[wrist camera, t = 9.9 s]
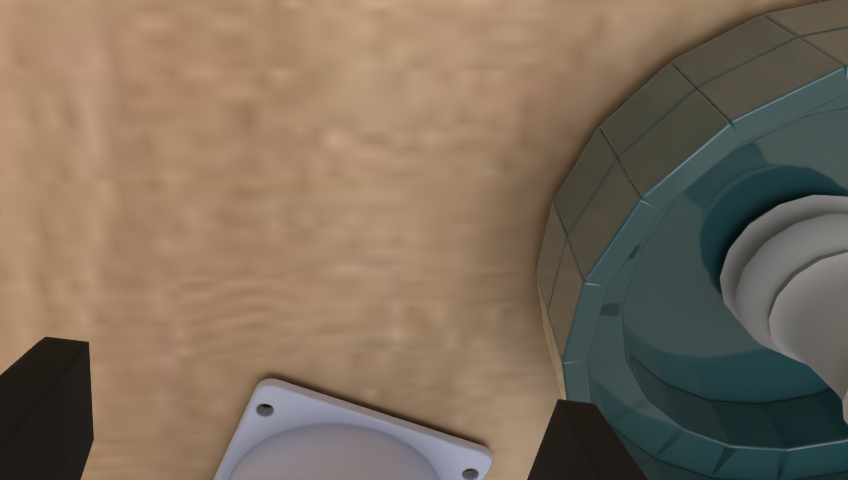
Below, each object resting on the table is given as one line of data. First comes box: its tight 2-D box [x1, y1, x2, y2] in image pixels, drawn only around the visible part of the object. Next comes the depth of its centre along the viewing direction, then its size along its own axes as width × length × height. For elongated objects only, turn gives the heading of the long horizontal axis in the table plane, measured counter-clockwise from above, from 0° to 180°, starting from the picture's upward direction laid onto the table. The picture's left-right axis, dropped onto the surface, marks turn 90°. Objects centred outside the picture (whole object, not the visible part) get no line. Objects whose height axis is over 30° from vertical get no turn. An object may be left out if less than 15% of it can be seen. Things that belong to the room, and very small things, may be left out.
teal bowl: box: [536, 0, 848, 480], centre depth 20 cm, size 14×14×4 cm
